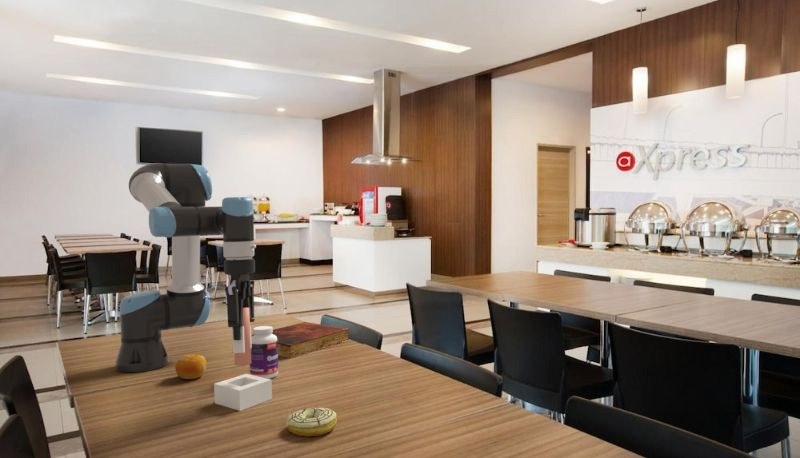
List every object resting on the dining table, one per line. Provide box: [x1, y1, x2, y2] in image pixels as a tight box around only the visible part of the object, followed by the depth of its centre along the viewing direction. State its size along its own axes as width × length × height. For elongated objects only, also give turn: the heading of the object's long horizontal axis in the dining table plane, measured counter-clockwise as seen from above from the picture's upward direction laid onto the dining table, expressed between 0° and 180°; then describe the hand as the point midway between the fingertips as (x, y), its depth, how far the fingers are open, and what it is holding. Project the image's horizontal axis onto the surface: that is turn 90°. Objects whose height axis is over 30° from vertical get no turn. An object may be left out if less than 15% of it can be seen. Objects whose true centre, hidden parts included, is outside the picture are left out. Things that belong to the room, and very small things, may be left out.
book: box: [251, 321, 351, 359], centre depth 198 cm, size 30×24×5 cm
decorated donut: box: [286, 407, 338, 438], centre depth 120 cm, size 10×11×4 cm
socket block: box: [213, 373, 273, 412], centre depth 139 cm, size 10×10×5 cm
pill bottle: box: [249, 325, 279, 379], centre depth 159 cm, size 8×8×14 cm
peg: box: [234, 307, 251, 367], centre depth 138 cm, size 4×4×14 cm
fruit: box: [175, 353, 208, 380], centre depth 160 cm, size 8×8×8 cm
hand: (242, 350), depth 138 cm, fingers closed on peg, 4 cm apart
